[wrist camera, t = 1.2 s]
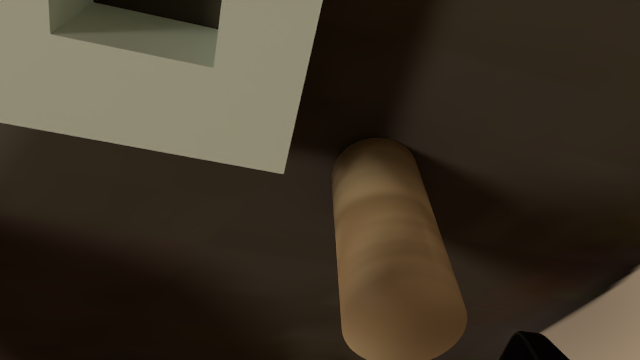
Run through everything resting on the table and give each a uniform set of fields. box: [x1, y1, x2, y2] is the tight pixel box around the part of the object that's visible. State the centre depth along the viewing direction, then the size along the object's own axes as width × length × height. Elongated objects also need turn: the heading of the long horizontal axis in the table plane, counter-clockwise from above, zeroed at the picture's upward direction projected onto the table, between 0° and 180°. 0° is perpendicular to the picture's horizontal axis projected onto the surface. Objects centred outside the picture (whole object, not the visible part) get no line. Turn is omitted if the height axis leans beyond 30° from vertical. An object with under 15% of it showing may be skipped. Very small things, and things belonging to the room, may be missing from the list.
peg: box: [331, 138, 467, 360], centre depth 18 cm, size 4×4×8 cm
